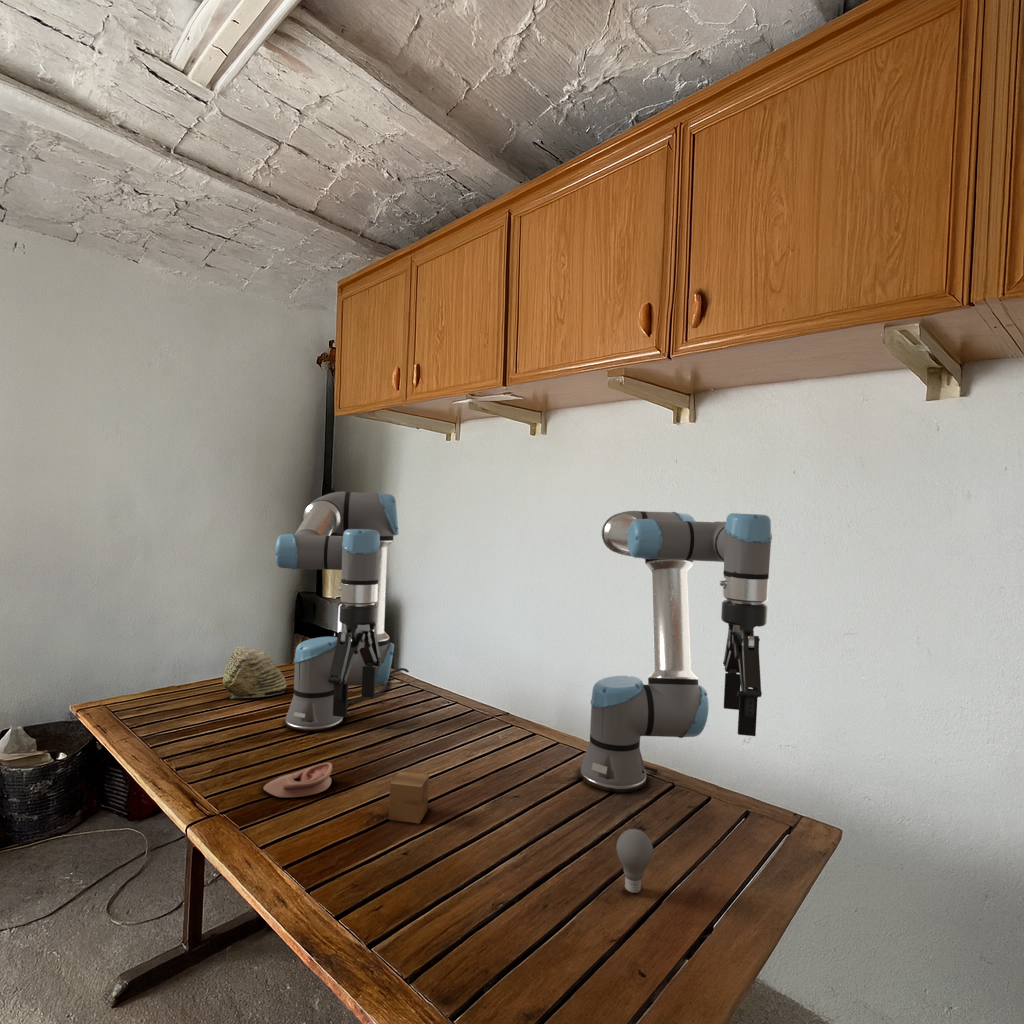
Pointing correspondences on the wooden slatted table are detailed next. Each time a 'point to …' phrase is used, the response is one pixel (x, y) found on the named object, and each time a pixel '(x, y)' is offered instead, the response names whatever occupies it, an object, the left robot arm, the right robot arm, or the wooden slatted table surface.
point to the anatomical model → (301, 782)
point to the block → (408, 797)
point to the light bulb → (634, 857)
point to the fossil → (252, 674)
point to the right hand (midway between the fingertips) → (738, 721)
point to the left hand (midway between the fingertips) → (354, 705)
